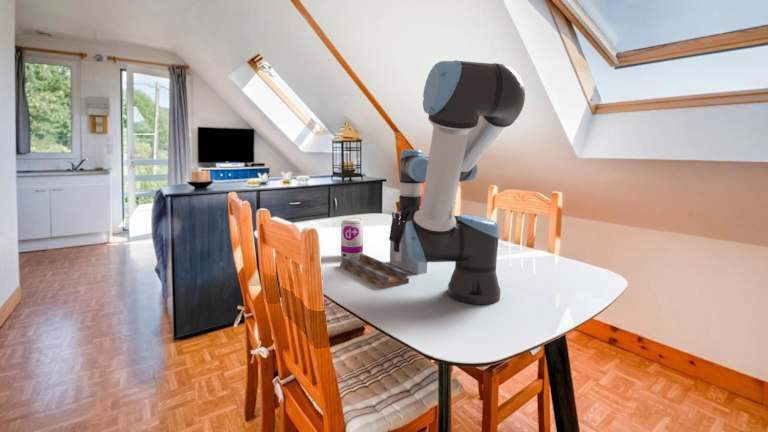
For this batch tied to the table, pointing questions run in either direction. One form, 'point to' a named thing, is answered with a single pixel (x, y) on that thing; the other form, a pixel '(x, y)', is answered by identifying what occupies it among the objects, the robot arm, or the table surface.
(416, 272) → the sliding panel
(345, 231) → the supplement can
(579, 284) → the table surface
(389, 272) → the floor track
